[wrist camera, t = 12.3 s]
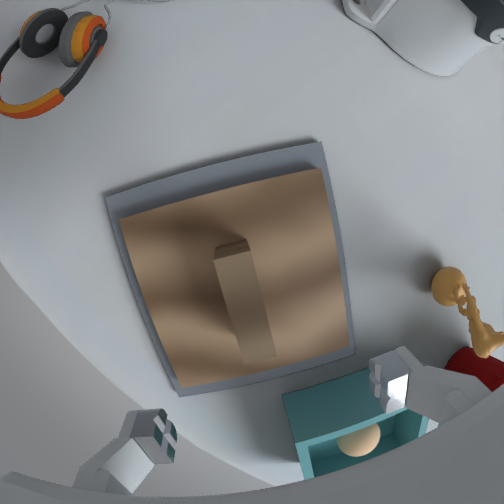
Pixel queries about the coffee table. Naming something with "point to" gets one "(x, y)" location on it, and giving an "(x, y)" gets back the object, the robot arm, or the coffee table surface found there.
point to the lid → (241, 277)
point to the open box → (344, 423)
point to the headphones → (70, 50)
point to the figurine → (452, 292)
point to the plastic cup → (478, 367)
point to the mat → (209, 182)
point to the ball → (360, 441)
